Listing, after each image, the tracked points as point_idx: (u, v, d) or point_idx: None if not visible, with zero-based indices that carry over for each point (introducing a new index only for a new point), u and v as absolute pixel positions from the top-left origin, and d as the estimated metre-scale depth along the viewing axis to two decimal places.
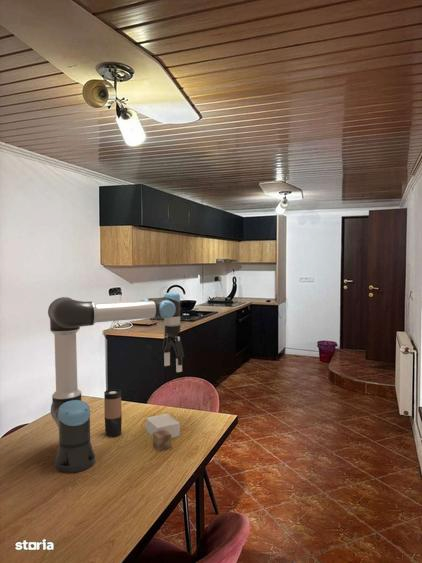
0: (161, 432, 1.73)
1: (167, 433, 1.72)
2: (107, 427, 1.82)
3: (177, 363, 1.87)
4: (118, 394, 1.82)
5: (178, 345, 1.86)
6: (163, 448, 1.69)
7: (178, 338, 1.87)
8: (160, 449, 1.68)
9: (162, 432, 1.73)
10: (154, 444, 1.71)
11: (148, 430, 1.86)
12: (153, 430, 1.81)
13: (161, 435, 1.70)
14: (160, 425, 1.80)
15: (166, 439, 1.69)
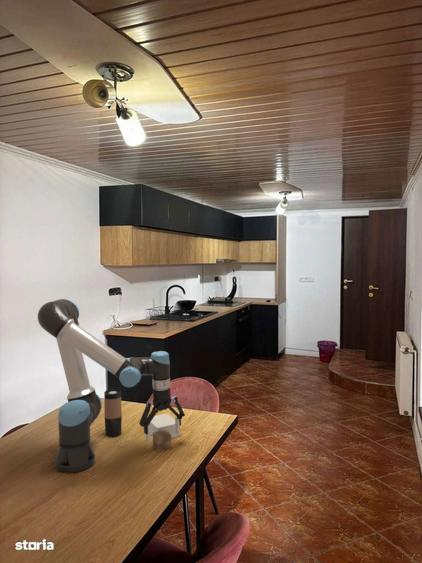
0: (161, 432, 1.73)
1: (167, 433, 1.72)
2: (107, 427, 1.82)
3: None
4: (118, 394, 1.82)
5: (144, 411, 1.68)
6: (163, 448, 1.69)
7: (146, 404, 1.67)
8: (160, 449, 1.68)
9: (162, 432, 1.73)
10: (154, 444, 1.71)
11: None
12: (153, 430, 1.81)
13: (161, 435, 1.70)
14: (160, 425, 1.80)
15: (166, 439, 1.69)
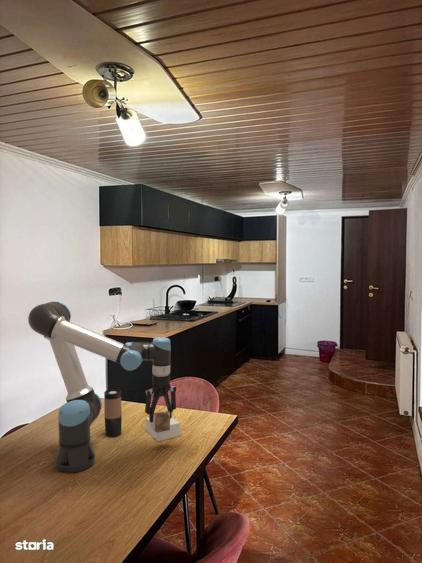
0: (160, 413, 1.73)
1: (166, 415, 1.71)
2: (107, 427, 1.82)
3: None
4: (118, 394, 1.82)
5: (146, 399, 1.68)
6: (161, 429, 1.68)
7: (146, 393, 1.67)
8: (158, 430, 1.68)
9: (161, 414, 1.72)
10: None
11: (148, 430, 1.86)
12: None
13: (160, 416, 1.70)
14: None
15: (165, 420, 1.69)
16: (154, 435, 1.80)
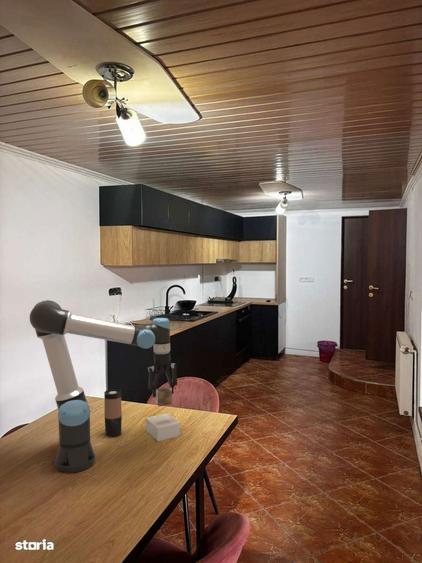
0: (162, 389, 1.84)
1: (168, 390, 1.83)
2: (107, 427, 1.82)
3: None
4: (118, 394, 1.82)
5: (148, 376, 1.80)
6: (164, 403, 1.80)
7: (148, 369, 1.79)
8: (161, 404, 1.79)
9: (163, 389, 1.84)
10: None
11: (148, 430, 1.86)
12: (153, 430, 1.81)
13: (162, 391, 1.81)
14: (160, 425, 1.80)
15: (167, 395, 1.80)
16: (154, 435, 1.80)
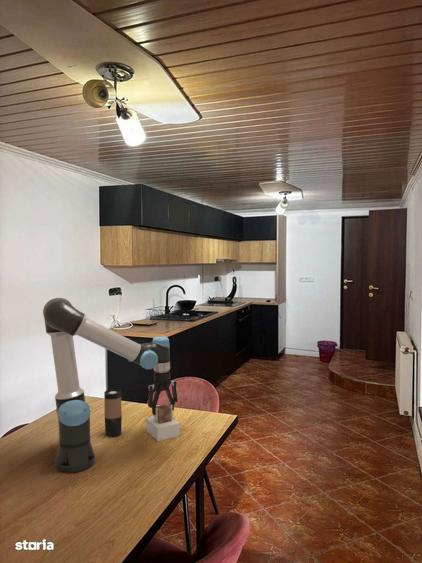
0: (162, 406, 1.87)
1: (167, 407, 1.85)
2: (107, 427, 1.82)
3: None
4: (118, 394, 1.82)
5: (149, 394, 1.83)
6: (164, 421, 1.83)
7: (148, 388, 1.82)
8: (161, 421, 1.82)
9: (163, 406, 1.87)
10: None
11: (148, 430, 1.86)
12: (153, 430, 1.81)
13: (162, 408, 1.84)
14: (160, 425, 1.80)
15: (167, 412, 1.83)
16: (154, 435, 1.80)
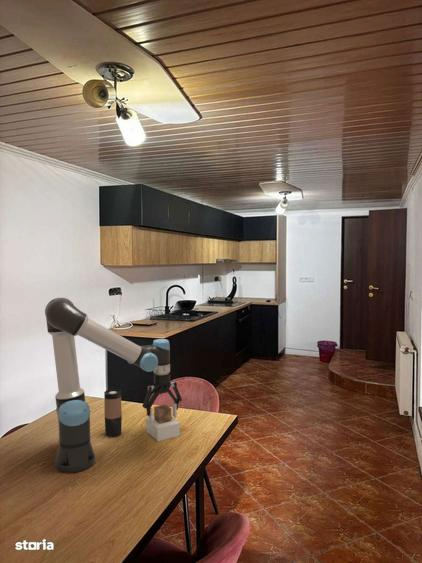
0: (162, 406, 1.87)
1: (167, 407, 1.85)
2: (107, 427, 1.82)
3: None
4: (118, 394, 1.82)
5: (146, 394, 1.82)
6: (164, 421, 1.83)
7: (148, 388, 1.82)
8: (161, 421, 1.82)
9: (163, 406, 1.87)
10: (155, 417, 1.85)
11: (148, 430, 1.86)
12: (153, 430, 1.81)
13: (162, 408, 1.84)
14: (160, 425, 1.80)
15: (167, 412, 1.83)
16: (154, 435, 1.80)
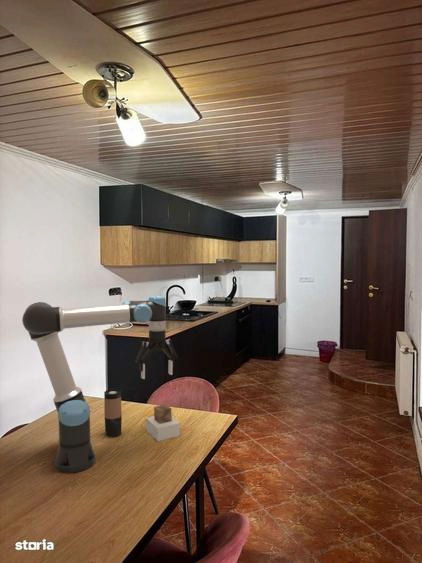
0: (162, 406, 1.87)
1: (167, 407, 1.85)
2: (107, 427, 1.82)
3: None
4: (118, 394, 1.82)
5: (140, 350, 1.79)
6: (164, 421, 1.83)
7: (143, 343, 1.78)
8: (161, 421, 1.82)
9: (163, 406, 1.87)
10: (155, 417, 1.85)
11: (148, 430, 1.86)
12: (153, 430, 1.81)
13: (162, 408, 1.84)
14: (160, 425, 1.80)
15: (167, 412, 1.83)
16: (154, 435, 1.80)
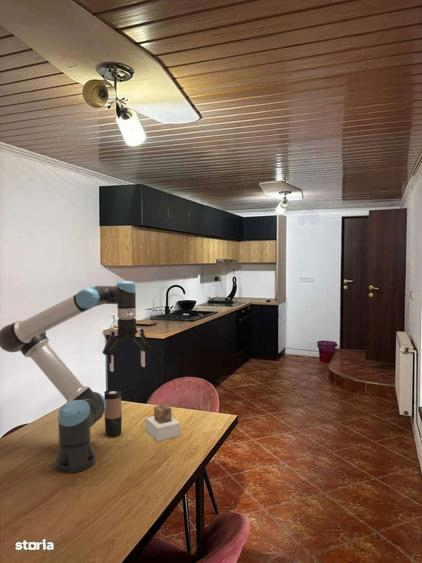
0: (162, 406, 1.87)
1: (167, 407, 1.85)
2: (107, 427, 1.82)
3: None
4: (118, 394, 1.82)
5: (108, 340, 1.64)
6: (164, 421, 1.83)
7: (110, 333, 1.64)
8: (161, 421, 1.82)
9: (163, 406, 1.87)
10: (155, 417, 1.85)
11: (148, 430, 1.86)
12: (153, 430, 1.81)
13: (162, 408, 1.84)
14: (160, 425, 1.80)
15: (167, 412, 1.83)
16: (154, 435, 1.80)
